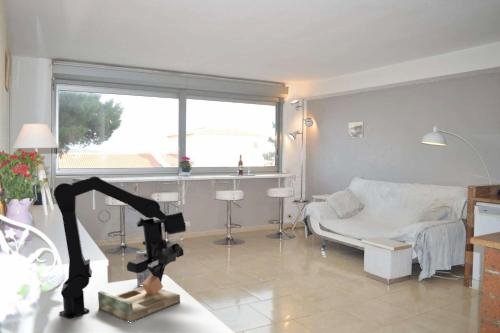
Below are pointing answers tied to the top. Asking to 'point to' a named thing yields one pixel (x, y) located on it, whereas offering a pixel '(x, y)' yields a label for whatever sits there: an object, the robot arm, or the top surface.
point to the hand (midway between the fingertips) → (159, 283)
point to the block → (152, 285)
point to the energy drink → (145, 274)
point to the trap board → (136, 303)
